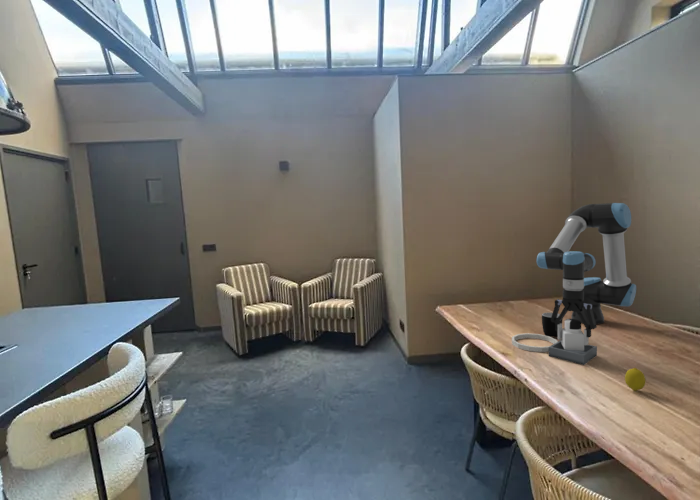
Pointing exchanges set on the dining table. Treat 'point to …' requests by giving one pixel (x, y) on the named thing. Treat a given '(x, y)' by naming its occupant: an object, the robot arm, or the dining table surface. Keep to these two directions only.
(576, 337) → the medicine bottle
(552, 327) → the mug
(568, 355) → the tray
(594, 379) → the dining table surface
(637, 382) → the lemon
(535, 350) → the ring holder
